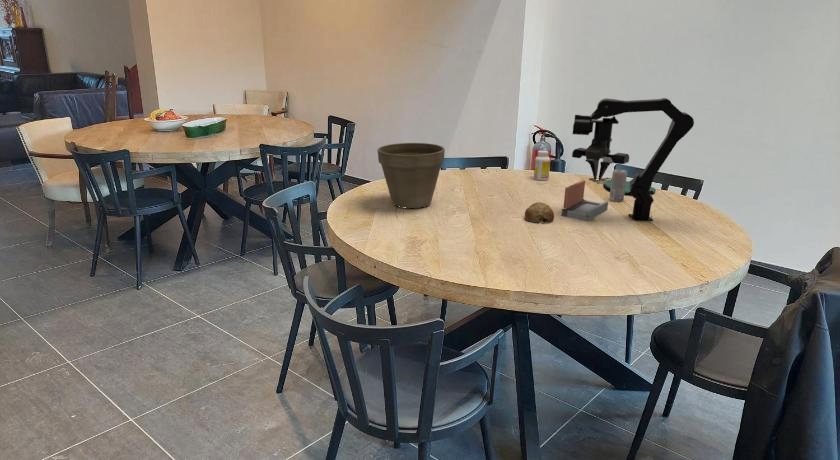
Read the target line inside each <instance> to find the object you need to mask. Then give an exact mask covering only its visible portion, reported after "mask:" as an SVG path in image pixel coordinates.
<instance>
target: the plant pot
mask: <svg viewBox="0 0 840 460" xmlns="http://www.w3.org/2000/svg"><path fill="white" fill-rule="evenodd" d="M445 151H446V149H445V147H444V146H442V145H439V144H435V143H434V144H433V143H427V142H426V143H425V142H401V143H391V144H387V145H382V146H380V147H379V148H377V159H378V163H379V164H380V165H381V168H382V173H383V175H384V179H385V182H386V185H387V189H388V192H389V195H390V199H391V202H392V205H394V204H395V205H397V206H400V207H406V208H418V209H422V208H421V207H424V208H427V207H428V206H430V205H431V204H432V201H433V198H434V194H435V190H436V186H437V183H438V178H439V174H440V170H441V167H442V164H443V163H444V161H445V153H446V152H445ZM395 205H394V206H395ZM397 206H396V207H397ZM426 206H427V207H426Z"/></svg>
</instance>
